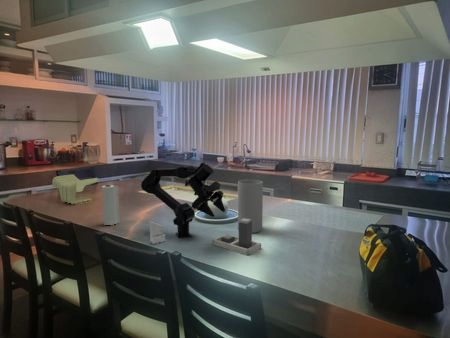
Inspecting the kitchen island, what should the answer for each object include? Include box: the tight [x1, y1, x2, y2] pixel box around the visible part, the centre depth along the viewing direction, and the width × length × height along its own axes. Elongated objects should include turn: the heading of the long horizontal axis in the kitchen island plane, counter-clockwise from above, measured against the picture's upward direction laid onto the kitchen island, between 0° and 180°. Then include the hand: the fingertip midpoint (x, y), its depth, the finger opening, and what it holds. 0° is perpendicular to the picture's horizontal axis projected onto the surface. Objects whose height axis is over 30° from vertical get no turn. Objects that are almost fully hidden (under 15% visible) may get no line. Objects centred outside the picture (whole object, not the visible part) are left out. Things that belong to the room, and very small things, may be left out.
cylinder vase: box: [237, 179, 264, 234], centre depth 159 cm, size 12×12×25 cm
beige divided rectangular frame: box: [212, 233, 262, 256], centre depth 138 cm, size 20×10×3 cm, turn 51°
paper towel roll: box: [101, 184, 121, 226], centre depth 168 cm, size 7×6×21 cm
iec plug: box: [238, 218, 253, 249], centre depth 135 cm, size 4×4×13 cm
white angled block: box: [149, 220, 166, 245], centre depth 144 cm, size 4×10×9 cm, turn 126°
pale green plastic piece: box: [52, 173, 99, 205], centre depth 220 cm, size 30×16×18 cm, turn 56°
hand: (219, 214), depth 141 cm, fingers open, 9 cm apart
